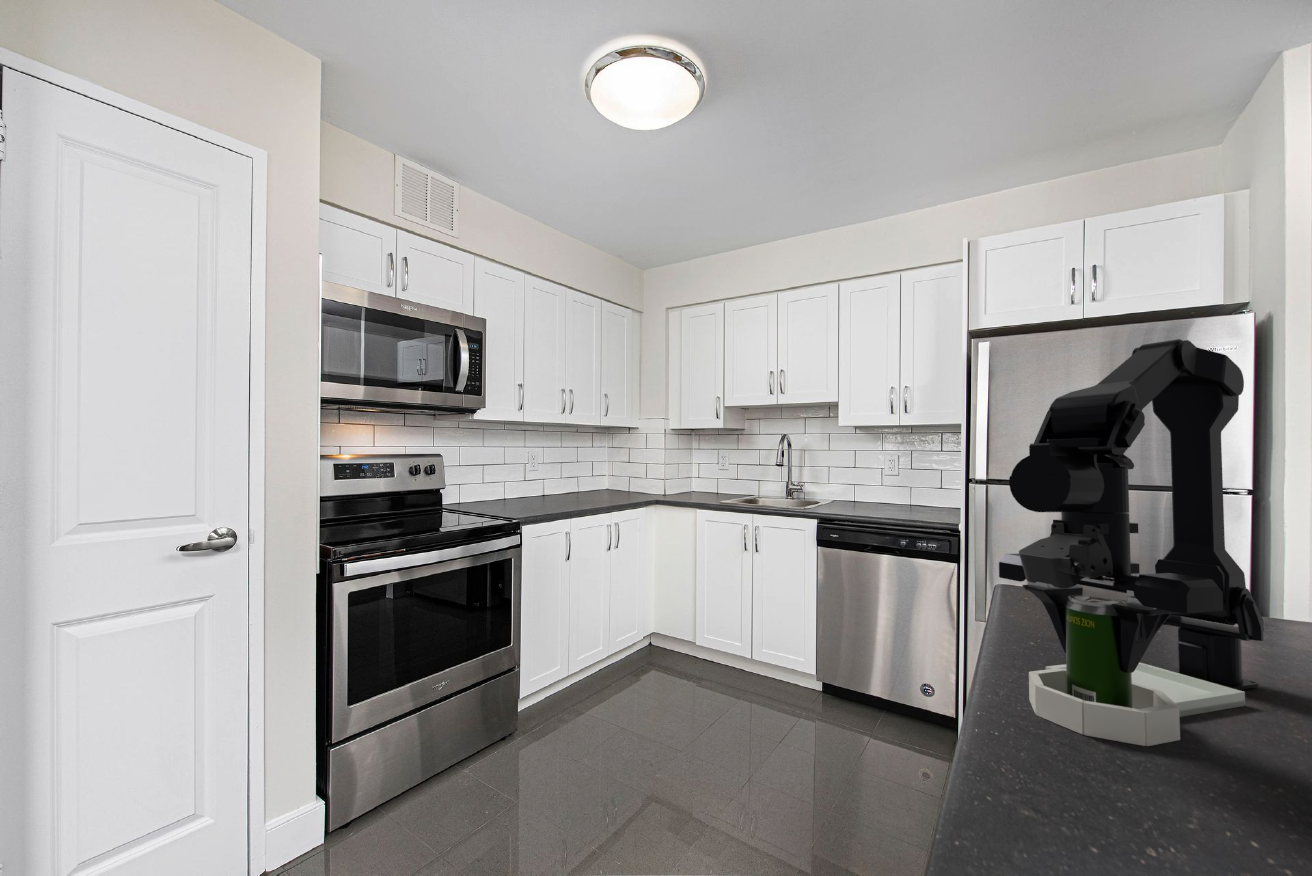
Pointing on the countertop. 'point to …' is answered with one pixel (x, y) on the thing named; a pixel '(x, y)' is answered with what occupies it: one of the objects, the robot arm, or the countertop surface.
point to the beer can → (1095, 652)
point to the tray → (1185, 690)
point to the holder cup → (1106, 711)
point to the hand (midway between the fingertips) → (1097, 663)
